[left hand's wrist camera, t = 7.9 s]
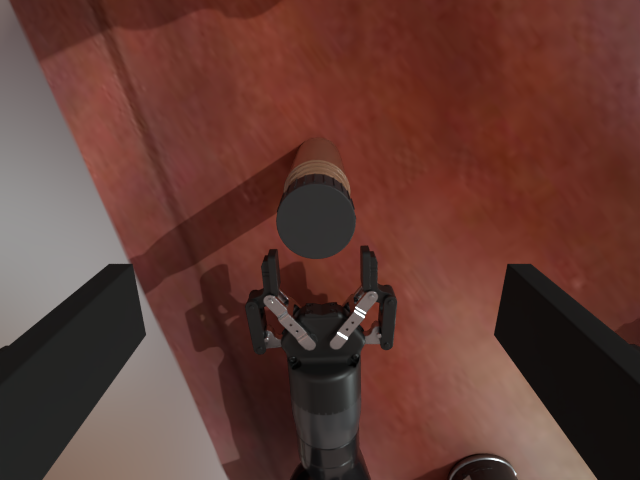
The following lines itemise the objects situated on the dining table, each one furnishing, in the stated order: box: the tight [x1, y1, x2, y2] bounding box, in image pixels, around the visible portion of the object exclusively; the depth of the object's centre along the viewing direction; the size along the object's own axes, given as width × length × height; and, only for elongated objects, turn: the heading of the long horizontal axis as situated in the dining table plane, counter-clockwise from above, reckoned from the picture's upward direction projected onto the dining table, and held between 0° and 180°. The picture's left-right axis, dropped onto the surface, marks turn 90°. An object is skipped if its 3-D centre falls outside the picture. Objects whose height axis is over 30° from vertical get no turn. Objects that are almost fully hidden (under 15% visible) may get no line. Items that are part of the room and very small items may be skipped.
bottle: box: [284, 138, 350, 195], centre depth 30 cm, size 5×5×20 cm
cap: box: [276, 173, 356, 259], centre depth 22 cm, size 4×4×3 cm
